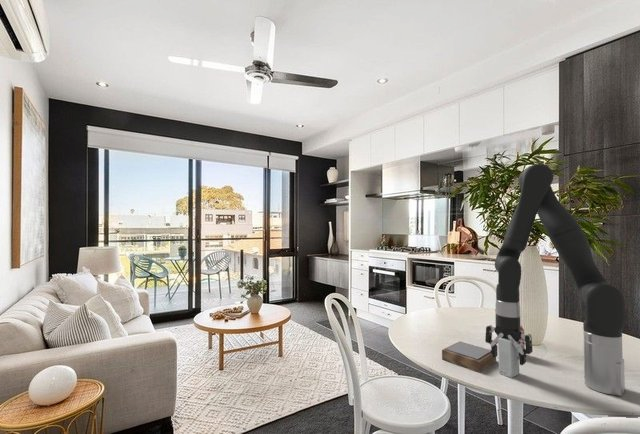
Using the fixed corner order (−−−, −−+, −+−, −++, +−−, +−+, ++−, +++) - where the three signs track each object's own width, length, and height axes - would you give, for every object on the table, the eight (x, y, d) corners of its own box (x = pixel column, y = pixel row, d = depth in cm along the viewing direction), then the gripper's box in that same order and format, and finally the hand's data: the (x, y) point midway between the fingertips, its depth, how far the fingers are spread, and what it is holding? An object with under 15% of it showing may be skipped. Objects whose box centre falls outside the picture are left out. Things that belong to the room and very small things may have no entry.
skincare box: (511, 378, 108) (511, 342, 108) (498, 373, 112) (497, 338, 112) (520, 373, 112) (519, 338, 112) (506, 368, 115) (505, 334, 115)
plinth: (496, 361, 122) (495, 350, 122) (479, 372, 113) (479, 360, 113) (460, 350, 132) (459, 340, 132) (442, 359, 123) (441, 348, 123)
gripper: (535, 316, 109) (535, 364, 109) (491, 307, 120) (491, 351, 120) (526, 320, 104) (527, 370, 104) (481, 310, 115) (482, 356, 115)
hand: (508, 360), depth 112 cm, fingers open, 8 cm apart
